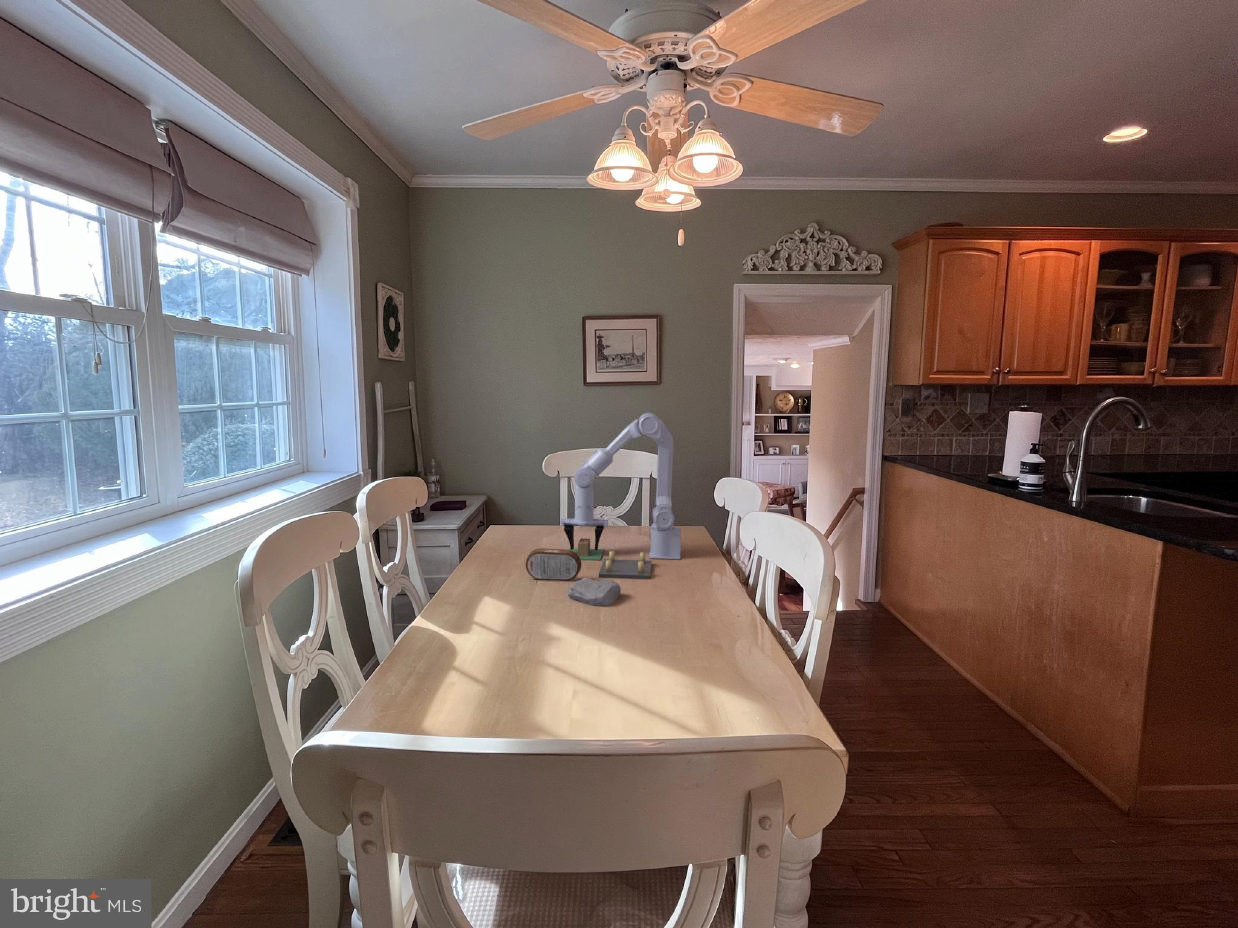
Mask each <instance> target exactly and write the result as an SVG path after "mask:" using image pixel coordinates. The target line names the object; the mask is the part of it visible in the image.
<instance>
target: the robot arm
mask: <svg viewBox="0 0 1238 928" xmlns="http://www.w3.org/2000/svg"><path fill="white" fill-rule="evenodd" d="M641 434H643V436H644V435H645V436H646V437H648V438H651V439H652V441H654V442H655V443H656V445H657V463H656V465H657V466H656V467H657V468H656V492H655V495H656V496H655V503H654V506H653V508H652V511H651V516H652V518H653V519H652V520H653V522H652V524H651V525H650V549H649V553H648V554H649V555H648V558H649V559H659V560H660V559H661V560H667V559H668V560H681V553H682V547H683V546H682V545H681V544H682V543H681V542H682V539H681V538H682V536H681V535H682V533H681V532H682V530H681V529H682V528H681V527H675V524H674V523H675V515H674V513H673V509H672V508H673V507H672V505H673V504H672V487H673V485H672V484H673V465H674V464H673V463H674V461H673V460H674V437H673V436H672V434H671V433H670V431H669V429H668V428H667V427H666V425H665V423H664V422H663V421H662V420H661V418H659V416H657V415H655V414H654V413H651V412H645V413H643V414H641V415H640V416H639V418H636V419H634V421H632V422H630V423H629V424H627V426H626V427H625V428H624V429H623V430H622V431H621V432H620V433H619V434H618V435H617V436H616V437H615V438H614V439H613V441H611V443H610V444H609V445H608V446H607V447H605V448H601V447H600V448H599V449H595V450H593V452H592V455H591V456H590V457H589V458H588V459H587V460H586V461H583V462H582V463H581V465H582V466H579V468H577V469H576V471H575V473H574V476H573V477H574V478H573V479H574V483H575V485H574V487H575V490H574V518H572V517H571V518H560V527H563V530H564V531H563V532H564V533H565V535H566V537H567V541H568V543H569V546H570V547H569V548H571V550H573V549H575V540H574V539H575V538H574V536H575V534H574V532H575V527H595V528H594V549H595V550H598V549H599V542H600V539H601V537H602V534H603V532H604V530H605V528H608V527H609V519H601V518H600V519H599V518H594V511H595V510H594V509H595V508H594V507H595V506H594V503H595V501H594V500H595V499H594V497H595V496H594V495H595V493H594V492H595V491H594V489H593V488H594V487H593V485H594V480H595V477H599V476H600V475H601V474H602V473H603V472H604V471H605V470H606V469H607V468H608V467H609V466H610V465H611V464H612V463H613V462H614V458H613V457H614V455H616V454H617V453H618V452H619V451H620V450H621V449H622V448H623V447H624V446H625V445H627V444H628V443H629V442H630V441H631V440H632V439H635V438H641V437H642V435H641Z"/></svg>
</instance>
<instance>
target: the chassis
mask: <svg viewBox="0 0 1238 928" xmlns="http://www.w3.org/2000/svg"><path fill="white" fill-rule="evenodd" d="M608 552H609V554H608V558H604V559H603V561H602V564H601V567H600V570H599V572H598V578H604V579H605V578H607V579H633V580H635V579H636V580H651V572H652V565H653V564H652V563H653V562H652V560H649V559H648V560H646V551H645V552H644V551H641V552H639V560H638V559H617V558H616V556H615V554H616V552H615V551H613V550H610V551H608ZM615 558H616V559H615Z"/></svg>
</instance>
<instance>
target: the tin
mask: <svg viewBox="0 0 1238 928" xmlns="http://www.w3.org/2000/svg"><path fill="white" fill-rule="evenodd" d="M525 569H526V572H527V573H528V574H529V576H530V577H532V578H533V579H535V580H538V581H553V582H554V581H556V582H557V581H558V582H570V581H572V580H574V579H575V578H576V577H577V576H578V575H579V573H580V572H581V569H582V560H580V558H579V556H578V555H577V554H576V553H575V552H573V551H571V550H569V549H566V548H564V549H563V548H542V547H541V548H534V549H533V550H531V551H530V552H529V554H528V556H527V558H526V560H525Z"/></svg>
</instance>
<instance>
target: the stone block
mask: <svg viewBox="0 0 1238 928" xmlns="http://www.w3.org/2000/svg"><path fill="white" fill-rule="evenodd" d="M567 591H568V592H567V597H568V598H569V599H572V600H575V601H578V602H581V603H583V604H586V605H590V606H593V607H594V606H596V607H608V606H609V605H612V604H613V603H614V602H615V600H617V599H618V598H619V597H620V596H621V591H622V588H621V585H620V584H619V582H616V581H615V580H611V579H610V580H609V579H604V580H599V581H597V580H594V579H591V578H590V577H584V578H582V579H580V580H577V581H575V582H573V583H572V584H571V585H570V586H568V590H567Z"/></svg>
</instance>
